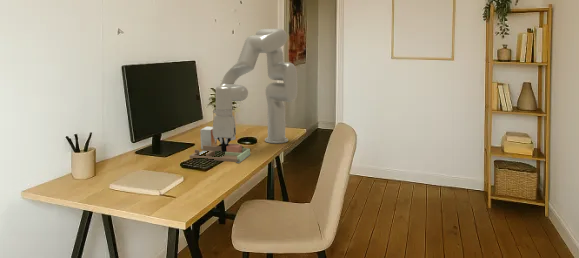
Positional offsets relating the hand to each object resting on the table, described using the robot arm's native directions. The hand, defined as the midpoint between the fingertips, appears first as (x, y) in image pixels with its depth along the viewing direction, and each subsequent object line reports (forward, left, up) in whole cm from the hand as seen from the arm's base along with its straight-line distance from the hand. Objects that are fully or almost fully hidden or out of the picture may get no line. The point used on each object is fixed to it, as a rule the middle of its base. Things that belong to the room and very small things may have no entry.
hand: (224, 151), depth 201 cm
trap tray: (+2, -1, -2) cm, 3 cm away
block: (+1, +5, -2) cm, 5 cm away
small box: (-11, -13, -2) cm, 17 cm away
